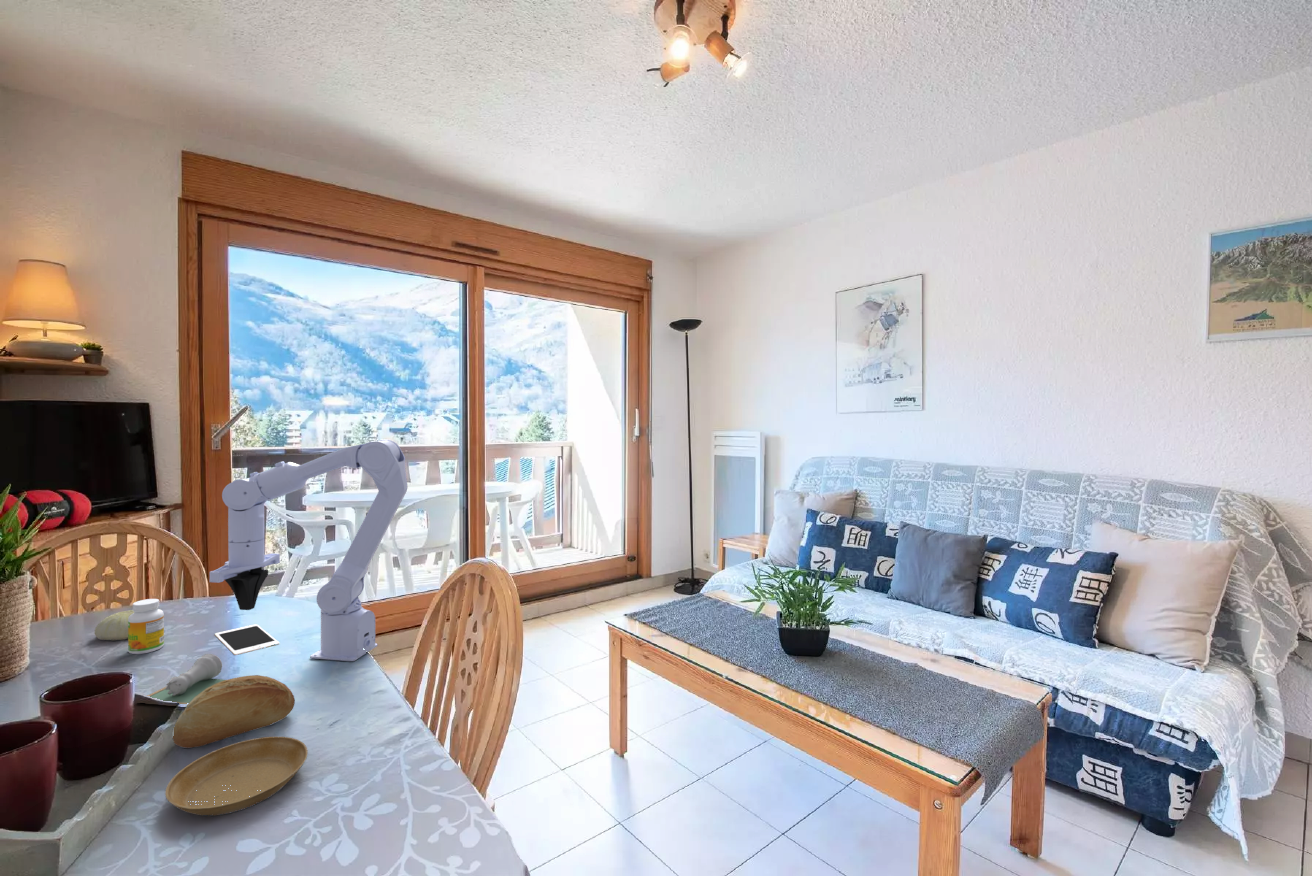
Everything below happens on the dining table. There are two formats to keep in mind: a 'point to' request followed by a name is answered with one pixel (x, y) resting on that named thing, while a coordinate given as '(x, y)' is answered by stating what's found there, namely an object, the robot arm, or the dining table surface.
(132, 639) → the supplement bottle
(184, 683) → the rook chess piece
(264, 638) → the cell phone
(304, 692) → the dining table surface
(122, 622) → the sea urchin shell
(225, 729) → the bread roll
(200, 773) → the plant saucer
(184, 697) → the green chalkboard
